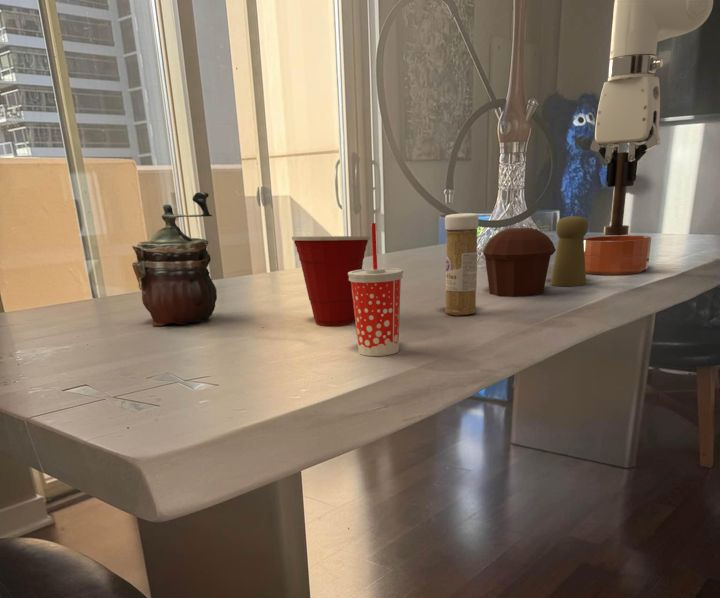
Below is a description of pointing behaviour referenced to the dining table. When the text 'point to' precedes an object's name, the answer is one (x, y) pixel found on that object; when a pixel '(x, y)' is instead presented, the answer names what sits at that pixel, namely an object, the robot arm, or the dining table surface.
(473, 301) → the sprinkles bottle
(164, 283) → the coffee grinder
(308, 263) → the plastic cup
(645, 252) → the bowl
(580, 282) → the cork
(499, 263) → the muffin
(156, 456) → the dining table surface
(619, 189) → the muddler
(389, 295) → the beverage cup
